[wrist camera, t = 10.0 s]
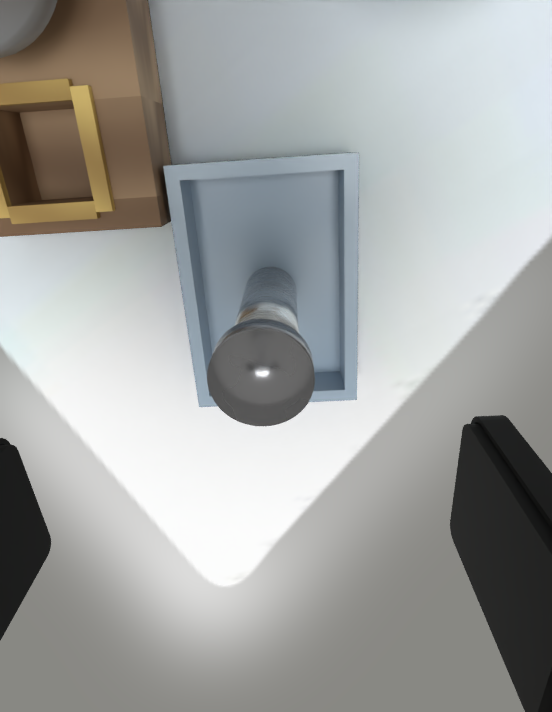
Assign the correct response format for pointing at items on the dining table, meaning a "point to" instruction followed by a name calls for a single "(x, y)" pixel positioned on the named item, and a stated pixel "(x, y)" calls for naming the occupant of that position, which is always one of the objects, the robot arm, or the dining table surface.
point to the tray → (271, 253)
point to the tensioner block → (80, 118)
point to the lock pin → (263, 355)
